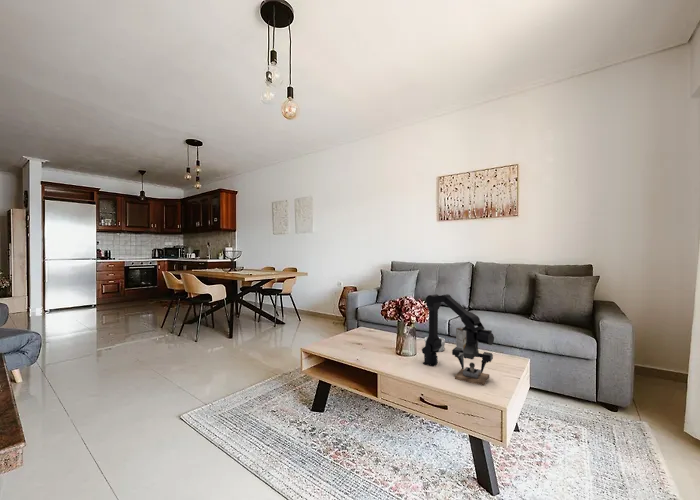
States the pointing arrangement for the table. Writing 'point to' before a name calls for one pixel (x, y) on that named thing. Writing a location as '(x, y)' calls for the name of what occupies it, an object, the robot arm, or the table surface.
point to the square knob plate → (480, 380)
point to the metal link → (471, 373)
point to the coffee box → (460, 338)
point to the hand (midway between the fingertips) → (472, 370)
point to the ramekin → (441, 343)
